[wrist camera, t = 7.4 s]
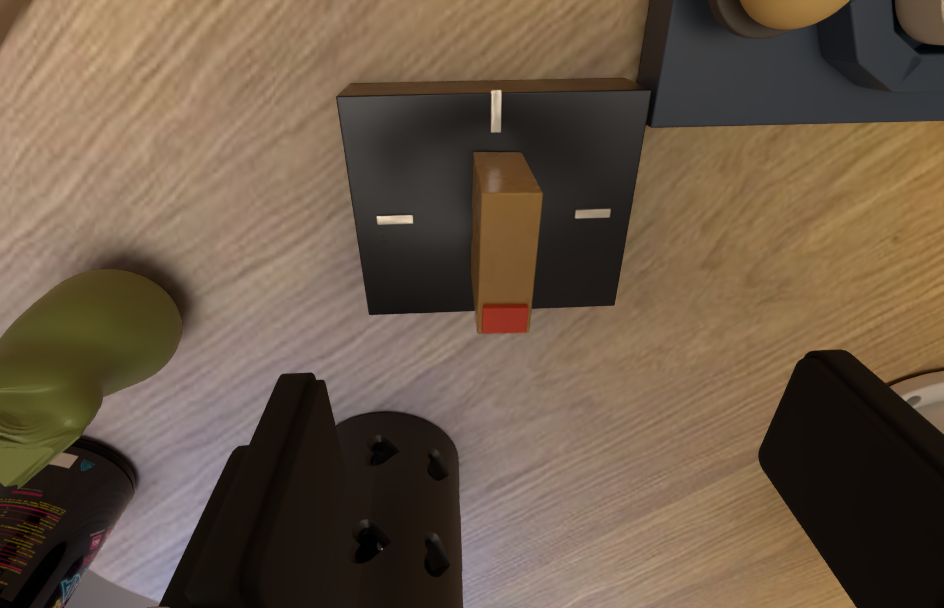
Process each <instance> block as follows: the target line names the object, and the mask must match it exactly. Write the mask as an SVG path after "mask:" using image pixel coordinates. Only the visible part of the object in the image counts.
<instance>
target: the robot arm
mask: <svg viewBox="0 0 944 608" xmlns="http://www.w3.org/2000/svg"><path fill="white" fill-rule="evenodd" d="M758 457H759V462H760V465H761V467H762V469H763V471H764V472H765V473H766V475H767V476H768V478H769V479H770V481H771V482H772V484H773V485H774V487H775V488H776V490H777V491H778V493H779V494H780V496H781V497H782V498H783V500H784V501H785V503H786V504H787V506H788V507H789V509H790V510H791V512H792V513H793V515H794V516H795V518H796V519H797V521H798V522H799V523H800V525H801V526H802V528H803V529H804V531H805V532H806V534H807V535H808V537H809V538H810V540H811V541H812V543H813V544H814V546H815V547H816V548H817V550H818V551H819V553H820V554H821V556H822V557H823V559H824V560H825V562H826V563H827V565H828V566H829V568H830V569H831V571H832V572H833V573H834V575H835V576H836V578H837V579H838V581H839V582H840V584H841V585H842V587H843V588H844V590H845V591H846V593H847V594H848V595H849V597H850V598H851V600H852V601H853V603H854V604H855V606H856V607H857V608H944V371H940V372H934V373H929V374H924V375H920V376H917V377H914V378H910V379H907V380H904V381H901V382H899V383H897V384H894V385H892V386H890V387H889V386H888V385H886V384H885V383H884V382H883V381H882V380H881V379H880V378H878V377H877V376H876V375H875V374H874V373H873V372H871V371H870V370H869V369H868V368H867V367H866V366H865V365H863V364H862V363H861V362H860V361H859V360H858V359H856V358H855V357H854V356H853V355H852V354H850V353H849V352H847V351H845V350H818V351H810V352H808V353H807V354H806V355H805V356H804V358H803V359H801V360H799V361H798V363H797V364H796V366H795V369H794V371H793V373H792V375H791V378H790V380H789V382H788V385H787V387H786V389H785V392H784V394H783V396H782V398H781V401H780V403H779V405H778V408H777V410H776V412H775V414H774V417H773V419H772V421H771V424H770V426H769V428H768V431H767V433H766V435H765V437H764V440H763V442H762V444H761V447H760V449H759V454H758ZM346 484H347V475H346V468H345V464H344V460H343V456H342V451H341V447H340V443H339V439H338V434H337V430H336V426H335V421H334V417H333V413H332V409H331V404H330V400H329V396H328V392H327V387H326V384H325V381H324V380H316V378H315V375H314V374H313V373H291V374H282V375H280V377H279V379H278V381H277V383H276V385H275V387H274V390H273V392H272V394H271V396H270V399H269V401H268V403H267V405H266V408H265V410H264V412H263V414H262V417H261V419H260V421H259V424H258V426H257V428H256V430H255V433H254V435H253V437H252V439H251V442H250V444H249V445H243V446H238V447H237V448H236V449H235V450H233V452H232V454H231V455H230V457H229V459H228V461H227V463H226V465H225V467H224V469H223V471H222V473H221V476H220V478H219V480H218V482H217V484H216V486H215V488H214V490H213V492H212V495H211V497H210V499H209V501H208V503H207V505H206V507H205V509H204V511H203V514H202V516H201V518H200V520H199V522H198V524H197V526H196V528H195V530H194V532H193V535H192V537H191V539H190V541H189V543H188V545H187V547H186V549H185V551H184V554H183V556H182V558H181V560H180V562H179V564H178V566H177V568H176V570H175V573H174V575H173V577H172V579H171V581H170V583H169V585H168V587H167V589H166V592H165V594H164V596H163V598H162V600H161V602H160V604H159V606H158V607H153V606H152V607H148V608H322V605H323V600H324V595H325V590H326V585H327V580H328V575H329V570H330V565H331V560H332V555H333V551H334V546H335V541H336V536H337V531H338V526H339V521H340V516H341V511H342V506H343V501H344V496H345V492H346Z"/></svg>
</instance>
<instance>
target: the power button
mask: <svg viewBox="0 0 944 608" xmlns="http://www.w3.org/2000/svg"><path fill="white" fill-rule="evenodd" d="M895 9H896V15H897V18H898V21H899V23H900V25H901V27H902V29H903V30H904V31H905V32H906V33H907V34H908V35H909V36H910V37H912V38H913V39H915V40H917V41H919V42H922V43H926V44H934V45H944V0H895Z"/></svg>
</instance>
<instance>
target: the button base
mask: <svg viewBox="0 0 944 608" xmlns="http://www.w3.org/2000/svg"><path fill="white" fill-rule="evenodd" d="M637 84H640V85H642V86H644V87H647V88H649V89H651V90H652V91H651V97H650V103H649V109H648V115H647V120H646V125H648V126H649V127H651V128H664V127H705V126H746V125H787V124H828V123H870V122H911V121H944V45H934V44H926V43H922V42H919V41H917V40H915V39H913V38H912V37H910V36H909V35H908V34H907V33H906V32H905V31H904V30H903V29H902V27H901V25H900V23H899V21H898V18H897V15H896V9H895V0H850V1H849V2H848V3H847V4H845V5H844V6H843V7H842V8H840V9H839V10H838V11H837V12H835V13H834V14H832V15H831V16H829V17H827V18H825V19H823V20H821V21H819V22H817V23H815V24H812V25H810V26H806V27H802V28H798V29H792V30H790V31H788V32H787V33H784V34H782V35H779V36H776V37H772V38H767V39H751V38H744V37H740V36H736V35H734V34H732V33H730V32H728V31H727V30H725V29H724V28H723V27H722V26H721V25H720V24H719V23H718V21H717V20H716V19H715V17H714V15H713V13H712V11H711V8H710V5H709V2H708V0H650V4H649V11H648V17H647V24H646V30H645V36H644V43H643V49H642V56H641V62H640V68H639V75H638V81H637Z"/></svg>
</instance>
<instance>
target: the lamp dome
mask: <svg viewBox="0 0 944 608" xmlns="http://www.w3.org/2000/svg"><path fill="white" fill-rule="evenodd" d="M849 1H850V0H708V2H709V5H710V8H711V11H712V13H713V15H714V17H715V19H716V20H717V21H718V23H719V24H720V25H721V26H722V27H723V28H724V29H725V30H727V31H728V32H730V33H732V34H734V35H736V36H740V37H744V38H751V39H767V38H772V37H776V36H779V35H782V34H784V33H787V32H788V31H790V30H792V29H798V28H802V27H806V26H810V25H812V24H815V23H817V22H819V21H821V20H823V19H825V18H827V17H829V16H831V15H832V14H834V13H835V12H837V11H838V10H839V9H840V8H842V7H843V6H844V5H845V4H847V3H848V2H849Z"/></svg>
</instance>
